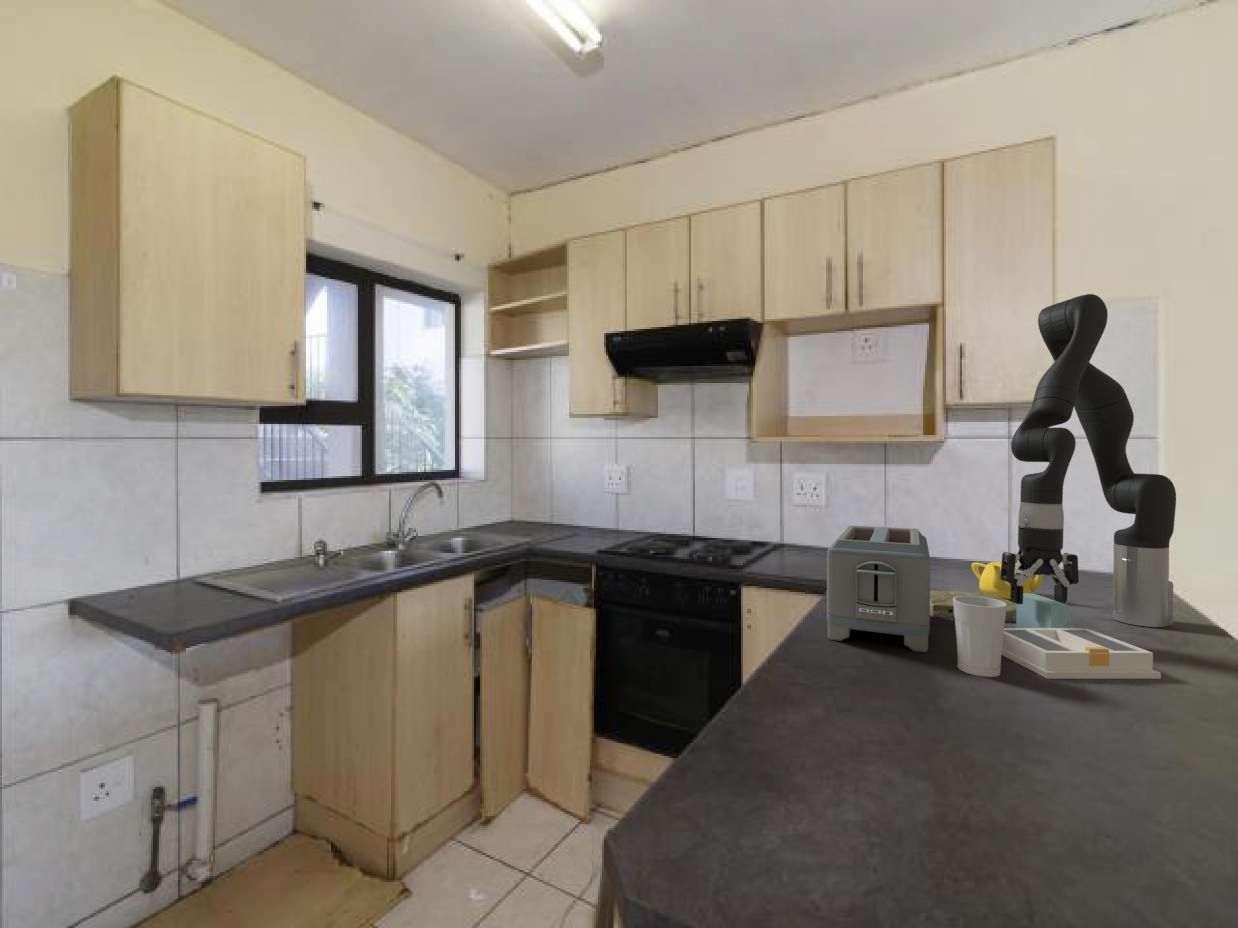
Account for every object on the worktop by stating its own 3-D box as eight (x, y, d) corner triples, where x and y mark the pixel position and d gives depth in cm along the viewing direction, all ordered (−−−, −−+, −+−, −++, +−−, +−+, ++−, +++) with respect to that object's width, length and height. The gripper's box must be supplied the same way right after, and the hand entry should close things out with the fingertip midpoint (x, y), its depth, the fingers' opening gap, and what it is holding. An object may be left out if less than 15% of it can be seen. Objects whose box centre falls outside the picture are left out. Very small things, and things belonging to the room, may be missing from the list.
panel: (1032, 630, 124) (1033, 593, 124) (1068, 645, 114) (1069, 605, 114) (1016, 630, 124) (1016, 593, 124) (1051, 645, 114) (1051, 605, 114)
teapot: (994, 602, 148) (994, 563, 148) (967, 590, 161) (967, 554, 161) (1051, 603, 147) (1051, 564, 146) (1019, 591, 160) (1019, 555, 160)
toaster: (823, 645, 114) (823, 542, 114) (841, 606, 144) (842, 524, 144) (930, 660, 106) (931, 549, 106) (926, 615, 136) (926, 528, 136)
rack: (1084, 646, 113) (1084, 623, 113) (1160, 678, 97) (1161, 651, 97) (986, 646, 113) (986, 623, 113) (1047, 678, 97) (1047, 651, 97)
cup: (998, 664, 104) (999, 597, 103) (1012, 681, 96) (1013, 608, 96) (948, 659, 106) (948, 594, 106) (957, 675, 99) (958, 604, 98)
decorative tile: (907, 600, 151) (907, 587, 151) (992, 604, 148) (992, 590, 148) (933, 620, 133) (933, 605, 133) (1030, 625, 129) (1030, 609, 129)
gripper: (1061, 523, 123) (1059, 599, 123) (993, 522, 123) (991, 598, 123) (1090, 528, 115) (1087, 609, 115) (1017, 526, 115) (1015, 607, 116)
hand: (1038, 603), depth 119 cm, fingers open, 8 cm apart
